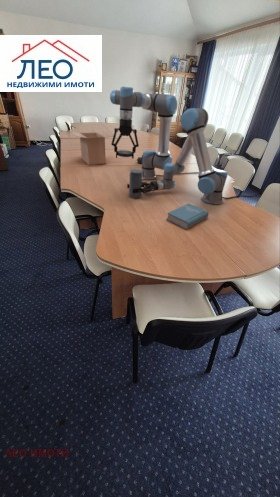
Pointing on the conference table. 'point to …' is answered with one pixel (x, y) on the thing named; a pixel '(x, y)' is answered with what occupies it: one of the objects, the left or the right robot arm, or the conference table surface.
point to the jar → (135, 182)
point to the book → (187, 216)
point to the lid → (124, 153)
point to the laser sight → (140, 159)
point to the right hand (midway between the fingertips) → (129, 188)
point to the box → (92, 146)
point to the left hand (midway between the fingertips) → (124, 157)
